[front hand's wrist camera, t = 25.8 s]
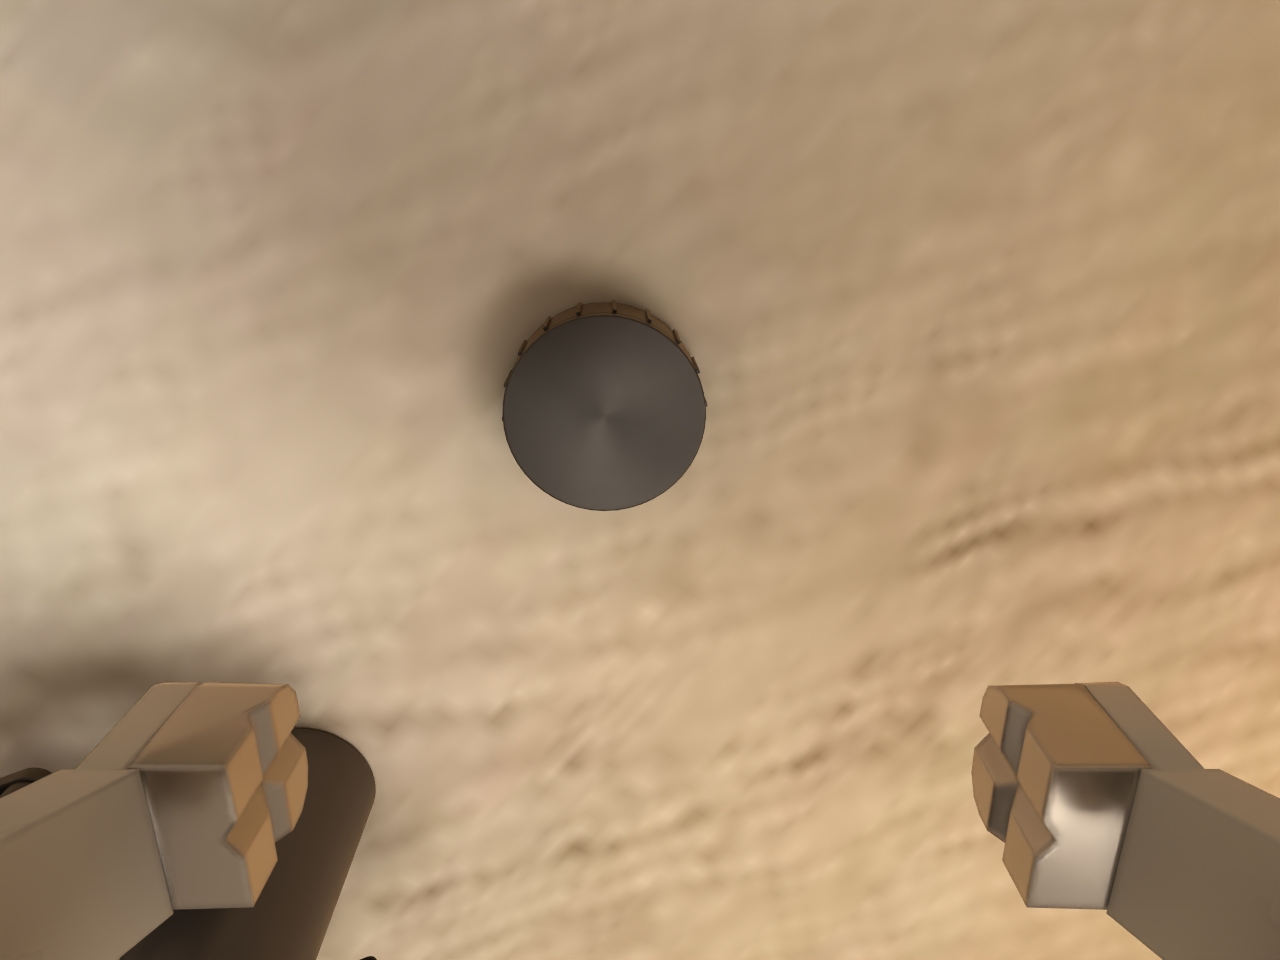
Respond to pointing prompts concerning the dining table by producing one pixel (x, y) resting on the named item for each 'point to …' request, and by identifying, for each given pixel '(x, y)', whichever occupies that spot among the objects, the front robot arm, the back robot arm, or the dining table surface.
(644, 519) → the dining table surface
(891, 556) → the dining table surface
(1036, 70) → the dining table surface
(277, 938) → the brown cylindrical canister
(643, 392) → the lid
